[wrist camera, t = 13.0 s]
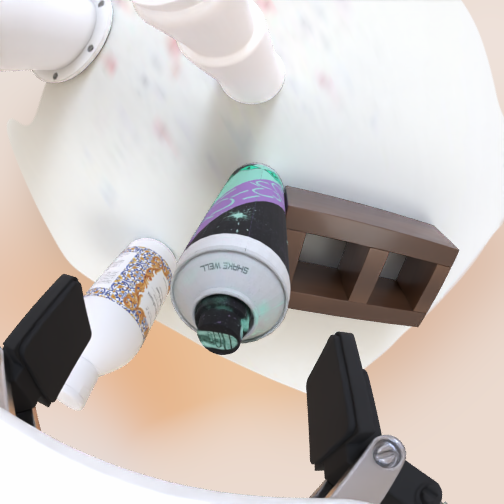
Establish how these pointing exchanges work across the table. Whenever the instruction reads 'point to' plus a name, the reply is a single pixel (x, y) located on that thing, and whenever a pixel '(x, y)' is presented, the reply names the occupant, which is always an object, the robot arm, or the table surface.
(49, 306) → the robot arm
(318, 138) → the table surface
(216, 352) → the spray can
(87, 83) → the table surface
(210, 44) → the cosmetic bottle
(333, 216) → the rack
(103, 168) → the table surface
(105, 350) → the bath foam
